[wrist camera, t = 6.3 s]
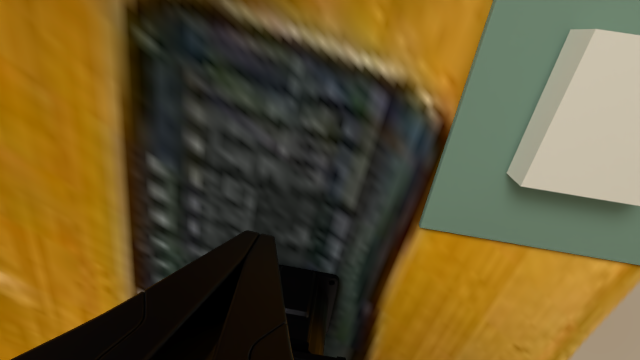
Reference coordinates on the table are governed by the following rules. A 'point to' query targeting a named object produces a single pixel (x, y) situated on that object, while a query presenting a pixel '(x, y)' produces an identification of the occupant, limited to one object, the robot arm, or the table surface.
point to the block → (587, 121)
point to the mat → (508, 129)
